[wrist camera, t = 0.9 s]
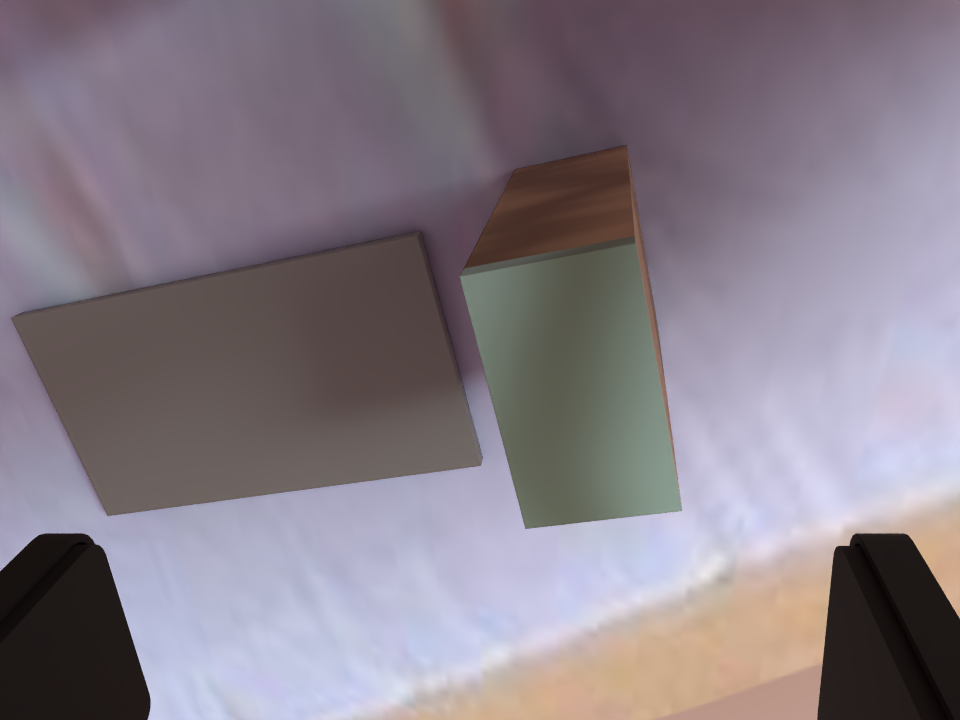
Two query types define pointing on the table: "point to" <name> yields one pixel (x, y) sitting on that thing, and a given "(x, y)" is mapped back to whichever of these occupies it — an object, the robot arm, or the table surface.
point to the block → (573, 344)
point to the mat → (258, 379)
